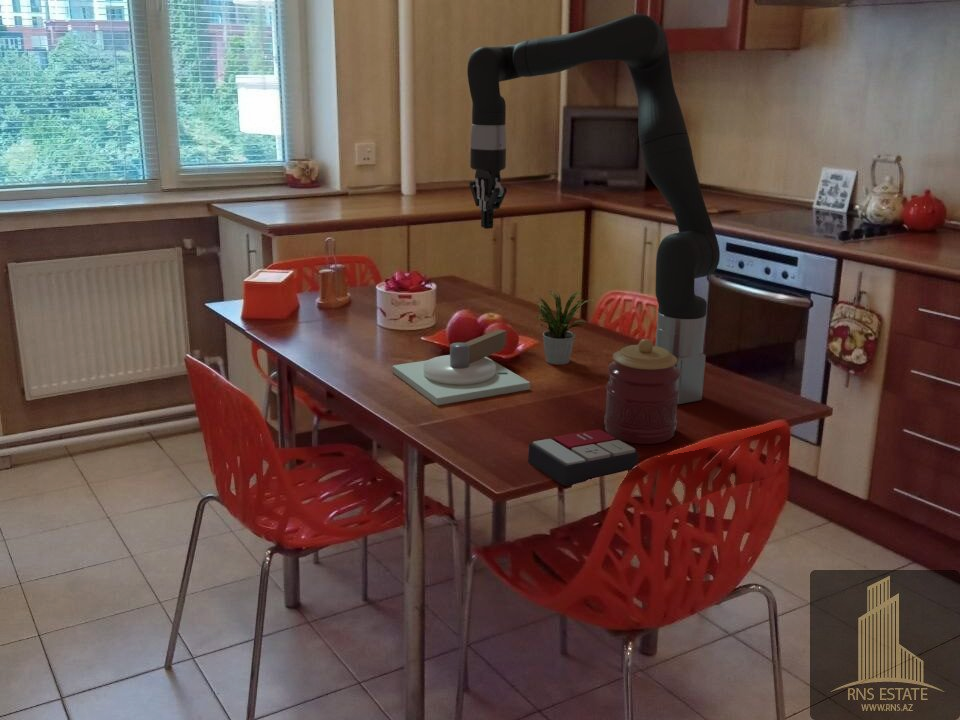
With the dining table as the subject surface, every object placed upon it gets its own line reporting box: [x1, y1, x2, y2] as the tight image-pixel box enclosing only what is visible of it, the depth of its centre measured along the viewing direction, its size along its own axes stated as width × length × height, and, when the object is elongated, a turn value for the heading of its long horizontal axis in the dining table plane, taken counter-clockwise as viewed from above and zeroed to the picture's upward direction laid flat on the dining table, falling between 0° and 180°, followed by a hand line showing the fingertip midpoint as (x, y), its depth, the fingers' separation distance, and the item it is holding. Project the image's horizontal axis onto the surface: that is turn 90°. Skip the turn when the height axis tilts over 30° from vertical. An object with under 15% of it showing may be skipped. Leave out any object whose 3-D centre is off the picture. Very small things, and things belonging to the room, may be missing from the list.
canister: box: [603, 338, 681, 445], centre depth 169 cm, size 13×13×18 cm
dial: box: [424, 329, 507, 385], centre depth 198 cm, size 24×15×6 cm, turn 145°
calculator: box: [527, 429, 640, 487], centre depth 157 cm, size 11×4×15 cm
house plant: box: [534, 290, 597, 366], centre depth 208 cm, size 14×14×16 cm
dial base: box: [391, 356, 531, 406], centre depth 196 cm, size 22×21×2 cm
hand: (486, 227), depth 204 cm, fingers closed
